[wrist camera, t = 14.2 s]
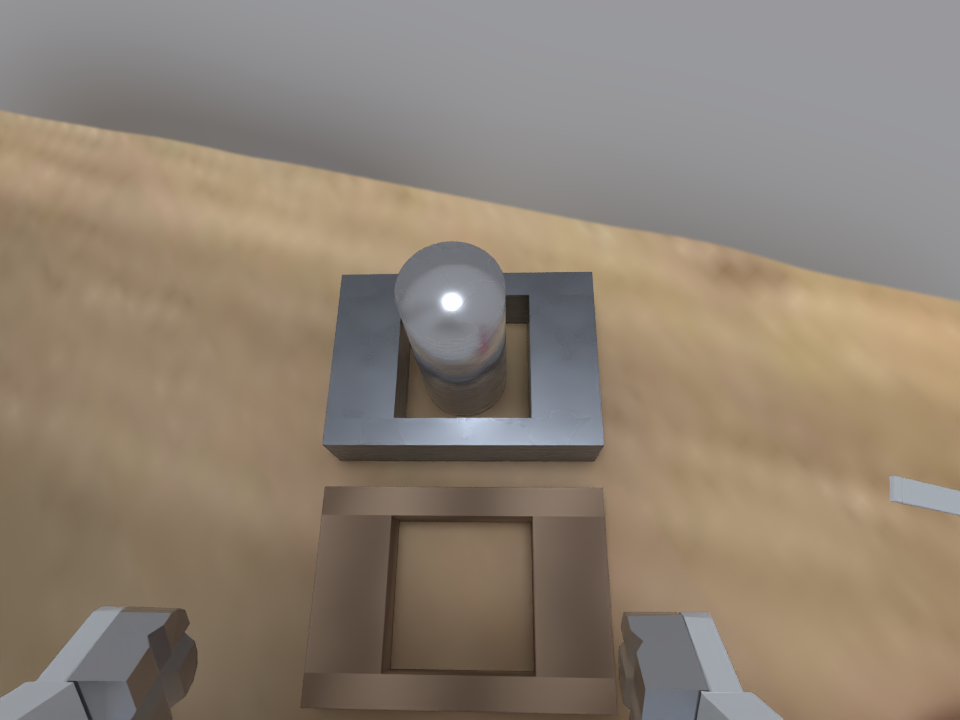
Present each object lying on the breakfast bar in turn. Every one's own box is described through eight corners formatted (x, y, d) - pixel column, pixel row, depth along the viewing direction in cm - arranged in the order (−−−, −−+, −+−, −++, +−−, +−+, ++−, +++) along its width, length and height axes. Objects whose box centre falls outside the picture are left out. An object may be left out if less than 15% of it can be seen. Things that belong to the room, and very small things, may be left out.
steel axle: (423, 416, 29) (390, 339, 21) (427, 341, 31) (398, 242, 22) (505, 416, 29) (505, 339, 21) (505, 341, 30) (505, 240, 22)
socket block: (340, 460, 28) (322, 444, 26) (356, 303, 32) (342, 274, 29) (594, 461, 28) (603, 445, 25) (584, 301, 31) (592, 271, 28)
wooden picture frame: (315, 700, 25) (300, 708, 23) (336, 494, 28) (324, 486, 26) (609, 706, 24) (617, 714, 22) (596, 495, 27) (602, 487, 25)
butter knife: (1180, 589, 25) (1168, 519, 26) (604, 455, 28) (614, 398, 29) (1170, 590, 25) (1158, 520, 26) (602, 457, 28) (612, 400, 29)
